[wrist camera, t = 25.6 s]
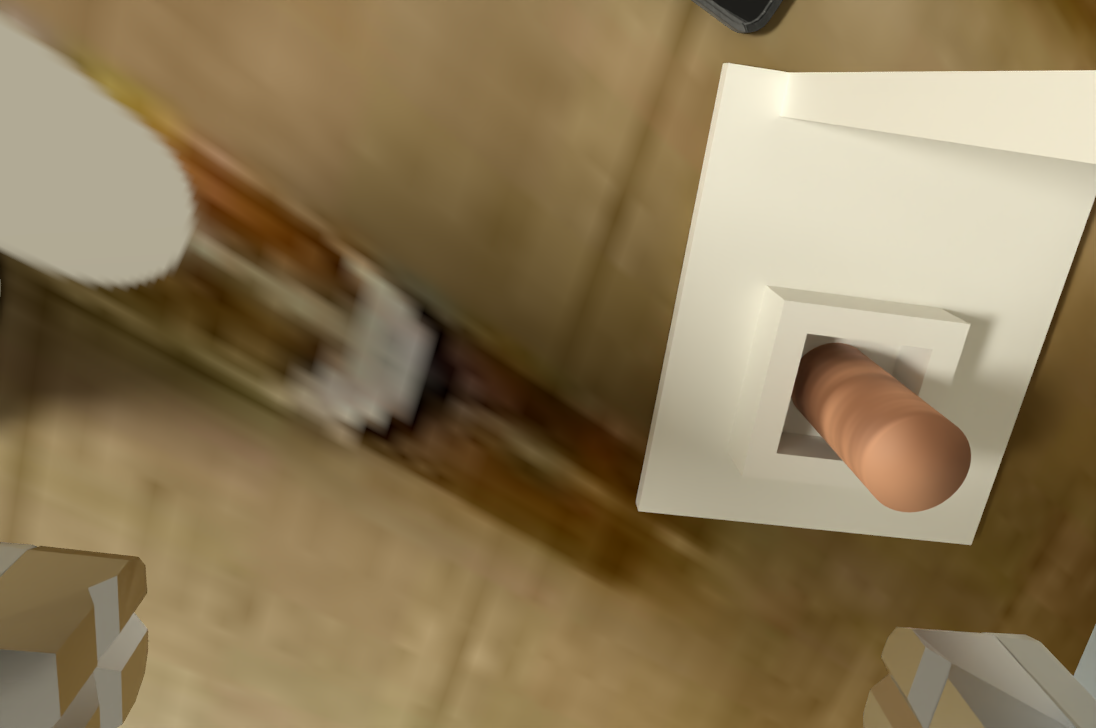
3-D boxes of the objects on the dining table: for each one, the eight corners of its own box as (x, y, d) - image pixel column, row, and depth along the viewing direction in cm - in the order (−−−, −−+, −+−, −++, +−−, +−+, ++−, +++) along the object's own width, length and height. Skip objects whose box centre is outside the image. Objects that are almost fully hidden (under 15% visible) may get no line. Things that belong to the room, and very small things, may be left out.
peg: (821, 436, 45) (904, 531, 36) (772, 380, 44) (845, 464, 35) (887, 383, 44) (991, 466, 35) (840, 325, 43) (933, 396, 34)
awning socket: (635, 502, 47) (831, 1140, 19) (723, 63, 39) (1275, 34, 11) (962, 536, 49) (1584, 1162, 21) (1107, 123, 41) (2413, 227, 13)
